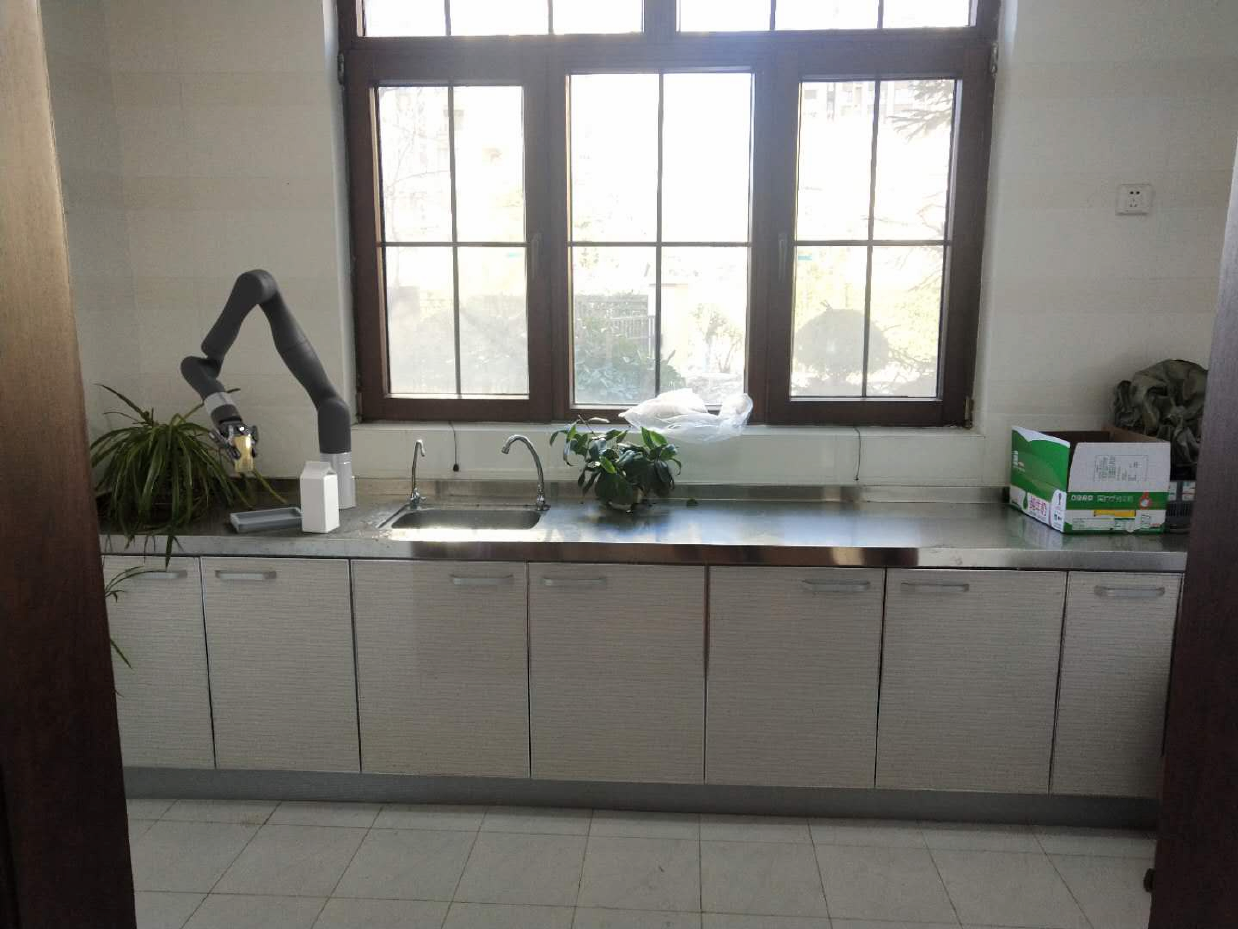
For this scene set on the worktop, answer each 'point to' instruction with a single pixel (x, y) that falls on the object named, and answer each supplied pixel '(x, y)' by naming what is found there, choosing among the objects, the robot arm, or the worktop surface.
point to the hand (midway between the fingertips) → (247, 457)
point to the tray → (267, 519)
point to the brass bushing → (244, 453)
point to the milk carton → (319, 497)
